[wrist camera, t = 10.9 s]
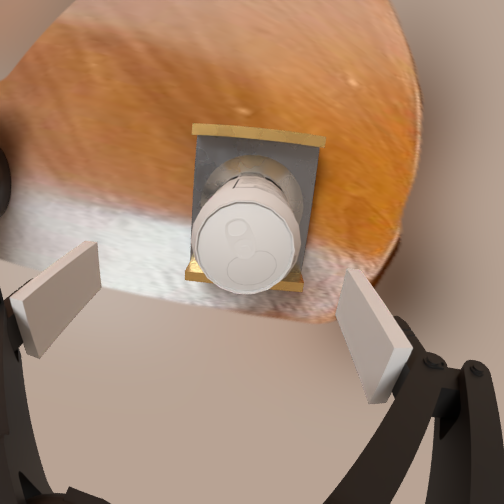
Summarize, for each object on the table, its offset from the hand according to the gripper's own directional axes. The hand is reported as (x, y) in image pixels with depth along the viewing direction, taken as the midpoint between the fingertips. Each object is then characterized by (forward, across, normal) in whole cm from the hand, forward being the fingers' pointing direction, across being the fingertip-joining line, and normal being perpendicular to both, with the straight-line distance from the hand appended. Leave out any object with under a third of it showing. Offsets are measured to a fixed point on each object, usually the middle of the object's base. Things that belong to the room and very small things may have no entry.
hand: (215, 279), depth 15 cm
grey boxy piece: (+27, +2, -1) cm, 27 cm away
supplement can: (+22, +1, -1) cm, 22 cm away
